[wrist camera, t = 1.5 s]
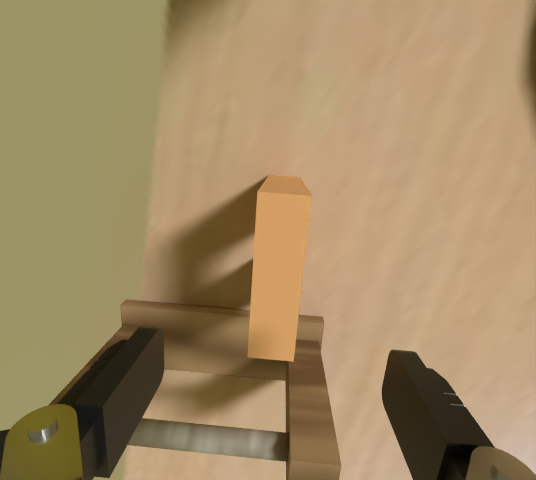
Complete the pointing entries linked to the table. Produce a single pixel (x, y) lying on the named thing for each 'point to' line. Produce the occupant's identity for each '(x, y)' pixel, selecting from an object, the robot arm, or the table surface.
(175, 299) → the table surface
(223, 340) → the rail
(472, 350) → the table surface
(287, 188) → the orange block
